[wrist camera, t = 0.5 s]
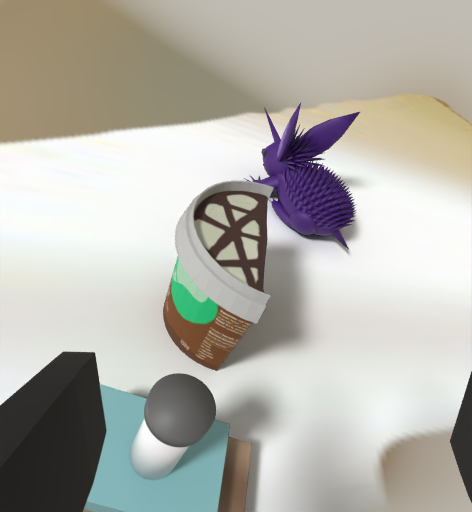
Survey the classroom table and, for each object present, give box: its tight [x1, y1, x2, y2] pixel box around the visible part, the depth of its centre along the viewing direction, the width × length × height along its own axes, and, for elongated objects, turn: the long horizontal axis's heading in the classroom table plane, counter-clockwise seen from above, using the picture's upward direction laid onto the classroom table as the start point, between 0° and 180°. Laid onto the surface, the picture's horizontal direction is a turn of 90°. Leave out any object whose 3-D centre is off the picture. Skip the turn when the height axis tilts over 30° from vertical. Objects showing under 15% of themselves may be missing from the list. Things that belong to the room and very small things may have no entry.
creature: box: [244, 103, 360, 248], centre depth 48 cm, size 9×18×12 cm, turn 38°
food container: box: [163, 181, 274, 371], centre depth 33 cm, size 12×6×10 cm, turn 175°
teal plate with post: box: [84, 374, 230, 512], centre depth 23 cm, size 6×8×7 cm
